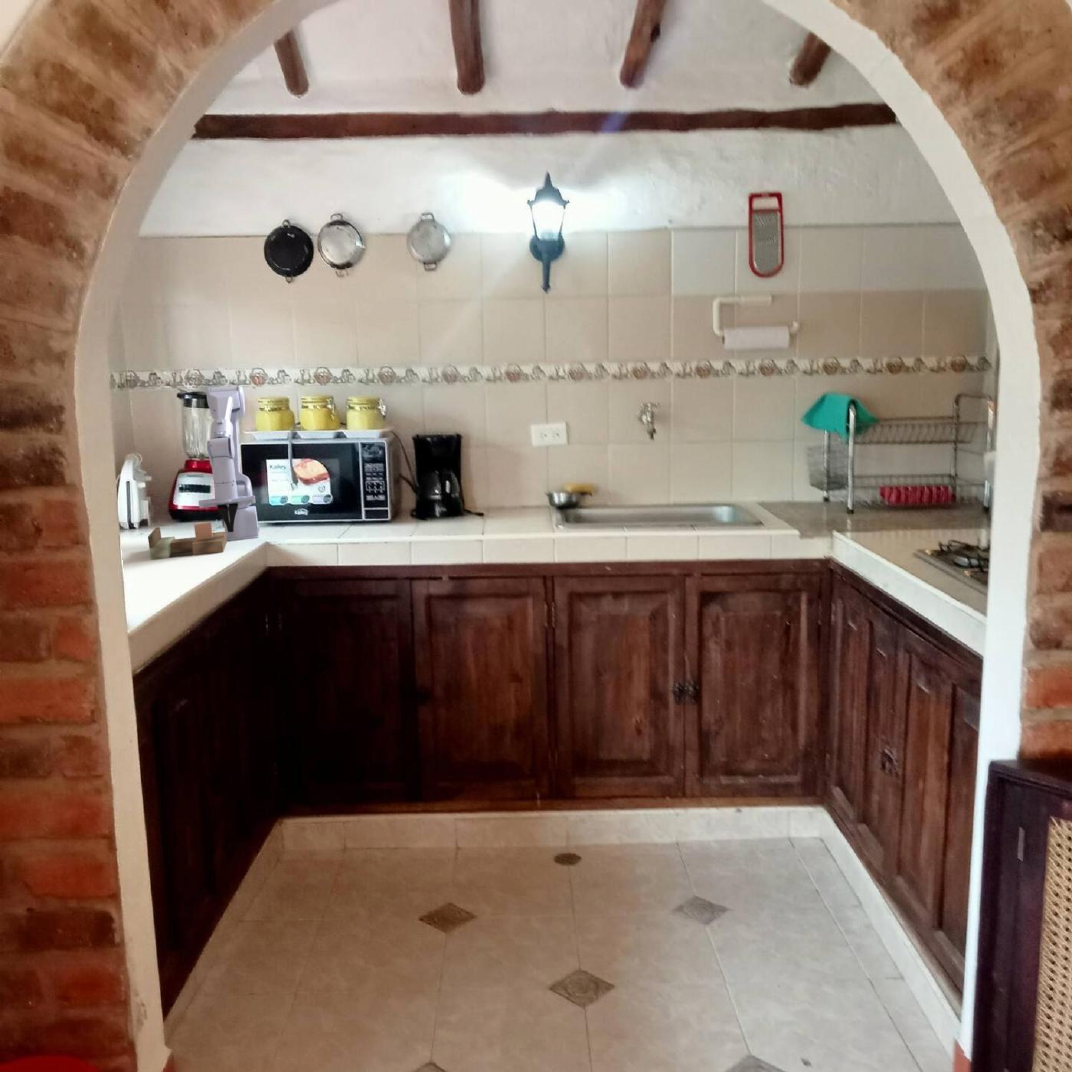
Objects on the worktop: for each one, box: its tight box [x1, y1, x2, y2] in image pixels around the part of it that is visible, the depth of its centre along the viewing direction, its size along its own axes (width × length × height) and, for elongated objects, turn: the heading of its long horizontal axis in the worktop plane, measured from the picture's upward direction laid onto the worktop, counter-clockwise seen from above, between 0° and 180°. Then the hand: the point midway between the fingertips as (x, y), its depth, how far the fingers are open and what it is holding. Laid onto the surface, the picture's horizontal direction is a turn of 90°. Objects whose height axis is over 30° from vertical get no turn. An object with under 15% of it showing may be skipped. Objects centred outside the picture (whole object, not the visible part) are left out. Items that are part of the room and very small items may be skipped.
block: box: [193, 521, 213, 540], centre depth 255 cm, size 4×4×4 cm
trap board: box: [147, 526, 228, 560], centre depth 254 cm, size 18×16×6 cm
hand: (230, 531), depth 257 cm, fingers closed
